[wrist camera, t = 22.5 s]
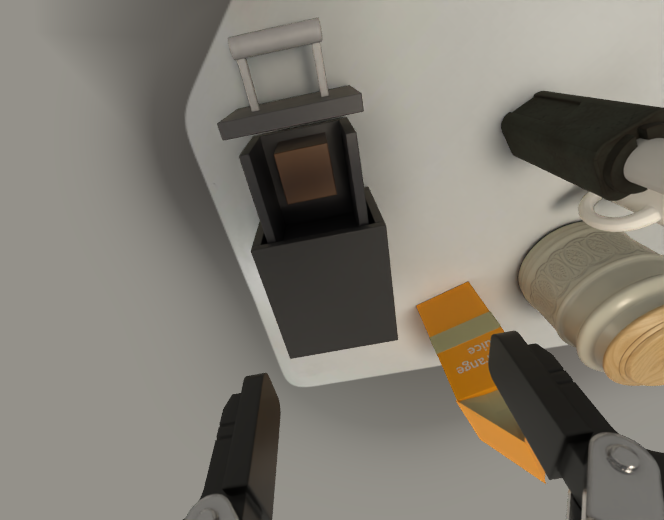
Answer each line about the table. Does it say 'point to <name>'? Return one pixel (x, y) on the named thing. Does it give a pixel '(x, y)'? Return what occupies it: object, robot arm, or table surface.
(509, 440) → the orange juice
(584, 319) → the jar
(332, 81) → the table surface
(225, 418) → the robot arm
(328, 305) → the fryer
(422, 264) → the table surface
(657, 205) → the mug
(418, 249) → the table surface
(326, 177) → the block
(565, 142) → the candle
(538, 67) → the table surface
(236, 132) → the basket
